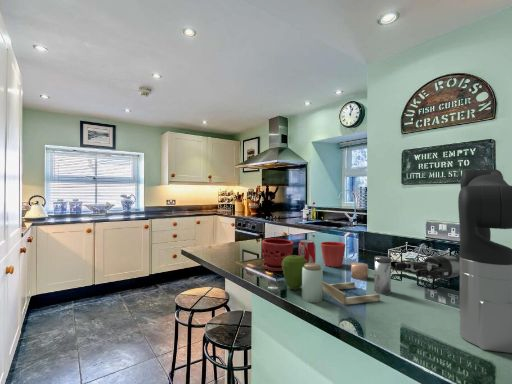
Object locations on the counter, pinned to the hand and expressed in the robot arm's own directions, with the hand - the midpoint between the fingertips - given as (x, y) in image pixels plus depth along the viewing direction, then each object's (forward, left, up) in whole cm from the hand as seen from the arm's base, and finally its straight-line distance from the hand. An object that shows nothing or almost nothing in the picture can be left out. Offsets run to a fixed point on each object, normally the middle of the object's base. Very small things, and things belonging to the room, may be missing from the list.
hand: (405, 269), depth 91 cm
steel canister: (-5, +8, -7) cm, 11 cm away
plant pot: (+13, +45, -7) cm, 48 cm away
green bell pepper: (-9, +36, -7) cm, 38 cm away
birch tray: (-11, +19, -7) cm, 23 cm away
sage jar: (-17, +30, -7) cm, 35 cm away
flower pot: (+27, +22, -7) cm, 36 cm away
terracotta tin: (+10, +13, -7) cm, 18 cm away
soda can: (+16, +33, -7) cm, 38 cm away
